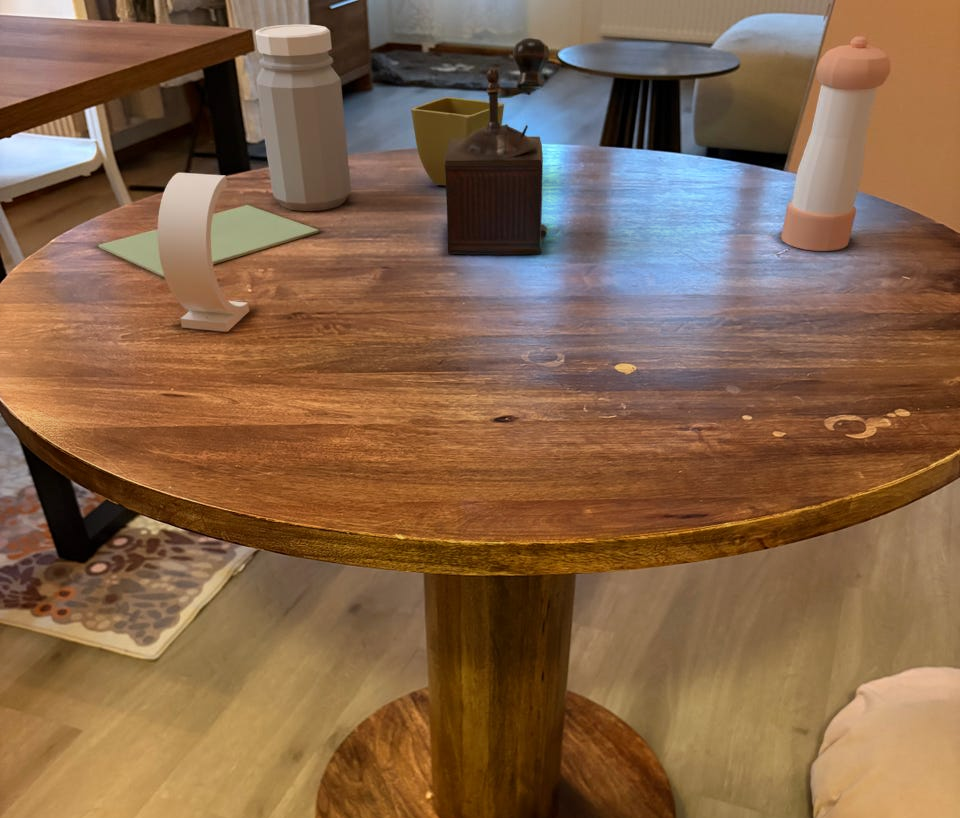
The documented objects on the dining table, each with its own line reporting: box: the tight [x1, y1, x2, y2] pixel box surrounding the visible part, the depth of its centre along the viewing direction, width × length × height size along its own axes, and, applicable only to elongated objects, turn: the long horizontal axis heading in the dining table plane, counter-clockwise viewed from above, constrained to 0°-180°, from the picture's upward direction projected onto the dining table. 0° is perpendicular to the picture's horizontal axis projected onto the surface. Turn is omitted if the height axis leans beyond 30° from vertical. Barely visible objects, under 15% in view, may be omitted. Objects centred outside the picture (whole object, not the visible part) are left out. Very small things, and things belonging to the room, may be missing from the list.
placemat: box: [97, 204, 320, 279], centre depth 103 cm, size 20×14×1 cm
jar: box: [254, 23, 352, 212], centre depth 108 cm, size 10×10×18 cm
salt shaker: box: [780, 35, 891, 252], centre depth 96 cm, size 7×7×19 cm
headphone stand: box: [157, 172, 250, 333], centre depth 82 cm, size 5×6×12 cm
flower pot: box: [410, 96, 505, 187], centre depth 117 cm, size 9×9×9 cm
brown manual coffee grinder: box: [445, 37, 551, 255], centre depth 99 cm, size 16×11×18 cm
